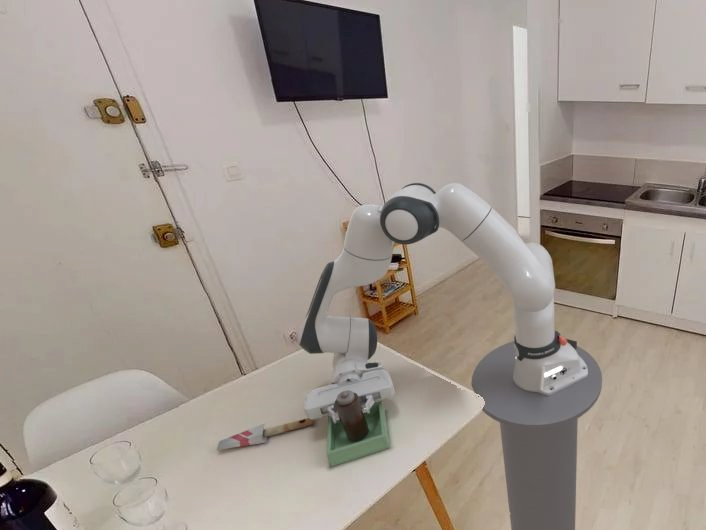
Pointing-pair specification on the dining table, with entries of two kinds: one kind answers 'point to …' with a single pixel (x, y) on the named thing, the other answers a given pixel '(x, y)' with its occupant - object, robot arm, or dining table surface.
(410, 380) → the dining table surface
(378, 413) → the tray
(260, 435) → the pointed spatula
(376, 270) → the robot arm
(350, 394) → the pepper mill
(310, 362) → the dining table surface
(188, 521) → the dining table surface
